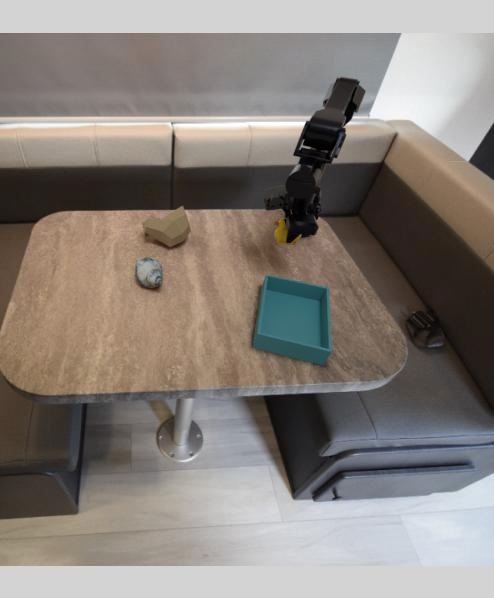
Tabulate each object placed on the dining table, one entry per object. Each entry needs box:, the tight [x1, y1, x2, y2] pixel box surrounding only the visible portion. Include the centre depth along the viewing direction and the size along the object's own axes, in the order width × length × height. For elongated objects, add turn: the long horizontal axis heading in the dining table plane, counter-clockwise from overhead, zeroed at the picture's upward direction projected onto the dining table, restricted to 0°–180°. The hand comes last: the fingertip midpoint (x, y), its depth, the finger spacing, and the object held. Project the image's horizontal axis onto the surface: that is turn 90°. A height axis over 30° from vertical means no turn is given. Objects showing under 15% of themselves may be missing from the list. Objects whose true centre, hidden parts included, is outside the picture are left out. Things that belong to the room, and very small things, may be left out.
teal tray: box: [251, 274, 333, 366], centre depth 82 cm, size 20×15×5 cm
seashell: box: [135, 256, 163, 289], centre depth 91 cm, size 6×8×12 cm
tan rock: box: [141, 205, 192, 248], centre depth 102 cm, size 15×11×12 cm
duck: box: [274, 217, 302, 247], centre depth 87 cm, size 7×4×6 cm, turn 83°
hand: (286, 237), depth 88 cm, fingers closed on duck, 4 cm apart
